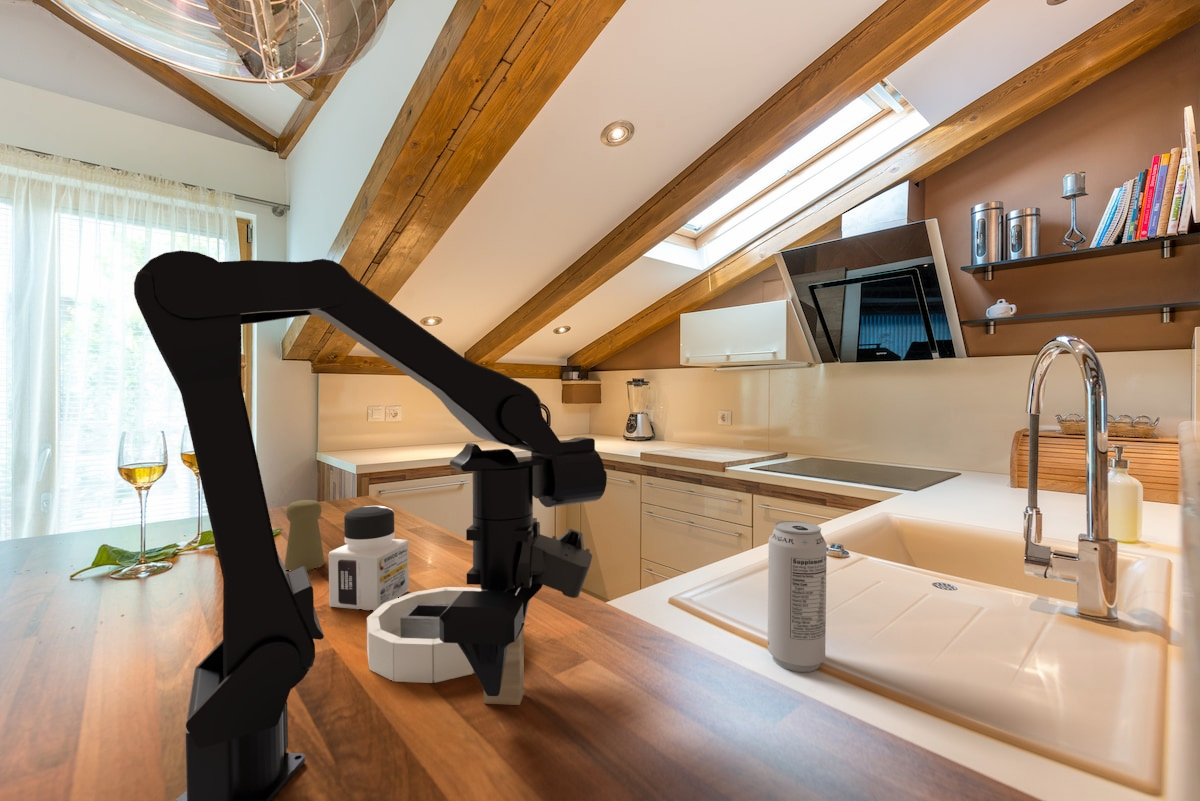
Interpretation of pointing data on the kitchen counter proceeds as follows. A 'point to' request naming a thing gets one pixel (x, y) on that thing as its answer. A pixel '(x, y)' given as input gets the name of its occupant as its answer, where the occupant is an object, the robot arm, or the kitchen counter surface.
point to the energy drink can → (797, 595)
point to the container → (368, 561)
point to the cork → (304, 536)
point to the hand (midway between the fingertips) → (503, 672)
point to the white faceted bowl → (413, 642)
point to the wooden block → (511, 675)
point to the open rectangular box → (422, 621)
